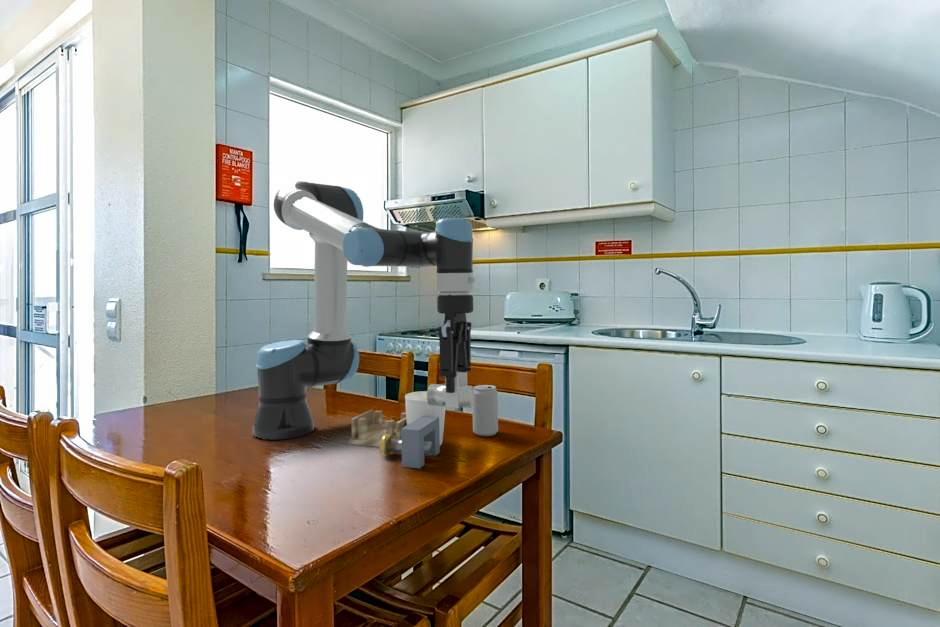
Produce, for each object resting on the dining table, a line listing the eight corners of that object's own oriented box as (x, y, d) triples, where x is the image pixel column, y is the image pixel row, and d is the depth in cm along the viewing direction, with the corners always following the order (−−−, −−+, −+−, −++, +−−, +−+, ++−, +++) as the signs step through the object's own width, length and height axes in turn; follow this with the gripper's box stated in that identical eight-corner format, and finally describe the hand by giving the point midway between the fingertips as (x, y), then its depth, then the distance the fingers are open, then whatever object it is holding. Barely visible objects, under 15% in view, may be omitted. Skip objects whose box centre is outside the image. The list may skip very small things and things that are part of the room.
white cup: (450, 441, 128) (451, 393, 127) (437, 453, 118) (439, 402, 118) (412, 437, 130) (413, 389, 130) (397, 449, 121) (398, 398, 120)
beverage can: (496, 437, 128) (495, 389, 127) (470, 436, 129) (469, 388, 128) (499, 430, 134) (499, 384, 133) (475, 429, 135) (474, 383, 135)
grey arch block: (402, 466, 109) (401, 428, 108) (423, 450, 119) (422, 416, 118) (419, 468, 107) (418, 430, 107) (439, 452, 117) (439, 417, 117)
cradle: (349, 443, 125) (348, 419, 124) (370, 432, 134) (370, 409, 134) (400, 448, 120) (399, 423, 120) (418, 436, 130) (418, 412, 129)
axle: (425, 401, 108) (429, 380, 110) (432, 408, 112) (436, 388, 114) (465, 403, 106) (469, 382, 108) (472, 410, 109) (475, 390, 111)
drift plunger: (380, 457, 114) (379, 436, 113) (390, 451, 118) (389, 431, 118) (426, 462, 110) (425, 441, 110) (434, 455, 114) (434, 435, 114)
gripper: (457, 295, 99) (458, 416, 100) (485, 292, 115) (486, 397, 117) (421, 295, 101) (423, 413, 103) (453, 293, 118) (454, 395, 119)
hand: (456, 404), depth 110 cm, fingers closed on axle, 4 cm apart
